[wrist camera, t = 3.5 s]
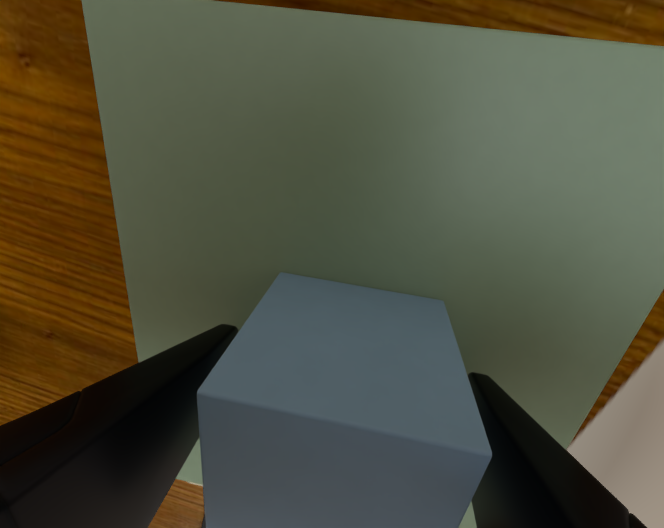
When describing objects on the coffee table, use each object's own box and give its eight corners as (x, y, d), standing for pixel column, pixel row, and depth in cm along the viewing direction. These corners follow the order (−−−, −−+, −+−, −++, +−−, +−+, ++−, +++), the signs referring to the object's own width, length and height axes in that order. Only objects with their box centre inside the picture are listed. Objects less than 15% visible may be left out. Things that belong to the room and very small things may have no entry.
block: (444, 299, 8) (494, 455, 4) (408, 420, 9) (422, 607, 6) (280, 271, 8) (194, 391, 5) (272, 391, 10) (206, 551, 6)
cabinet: (454, 378, 19) (502, 557, 11) (244, 337, 20) (155, 474, 12) (554, 96, 13) (805, 59, 5) (247, 60, 14) (77, -15, 6)
